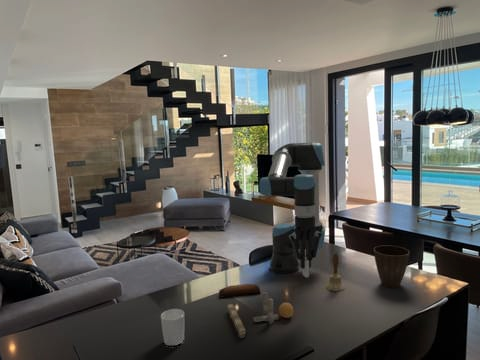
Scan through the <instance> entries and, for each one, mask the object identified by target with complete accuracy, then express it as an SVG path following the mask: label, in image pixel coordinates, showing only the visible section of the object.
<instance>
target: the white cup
mask: <svg viewBox="0 0 480 360" xmlns="http://www.w3.org/2000/svg"><path fill="white" fill-rule="evenodd" d="M160 320H161V321H160V322H161V330H162V336H163V343H165V344H166V345H169V346H170V345H172V346H173V345H178V344H180V343H182V342H183V340H184V341H185V312H184V310H183V309H180V308H172V309H168V310H165V311H163V312H162V313H161V314H160ZM183 343H184V342H183ZM183 343H182V344H183ZM165 344H164V345H165ZM166 345H165V346H166Z"/></svg>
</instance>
